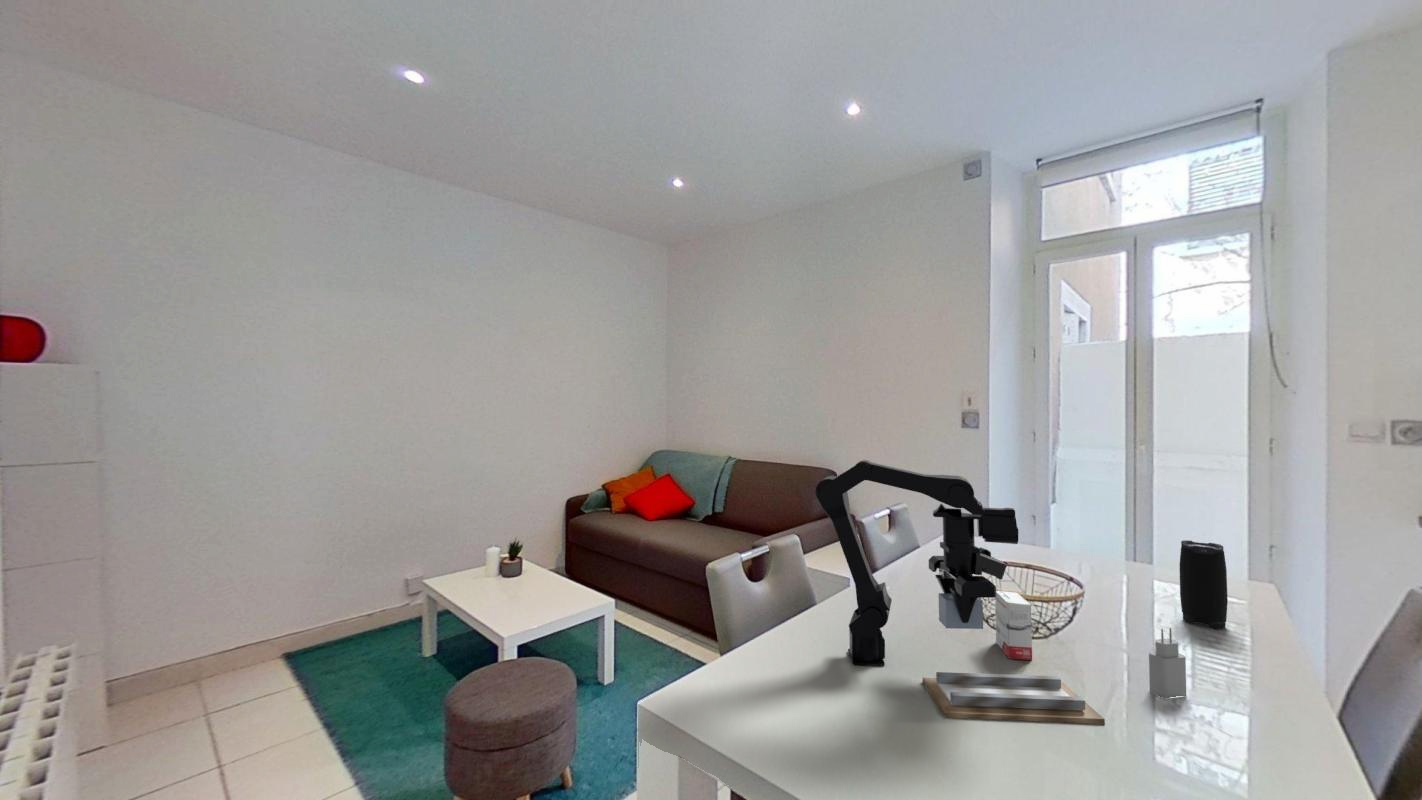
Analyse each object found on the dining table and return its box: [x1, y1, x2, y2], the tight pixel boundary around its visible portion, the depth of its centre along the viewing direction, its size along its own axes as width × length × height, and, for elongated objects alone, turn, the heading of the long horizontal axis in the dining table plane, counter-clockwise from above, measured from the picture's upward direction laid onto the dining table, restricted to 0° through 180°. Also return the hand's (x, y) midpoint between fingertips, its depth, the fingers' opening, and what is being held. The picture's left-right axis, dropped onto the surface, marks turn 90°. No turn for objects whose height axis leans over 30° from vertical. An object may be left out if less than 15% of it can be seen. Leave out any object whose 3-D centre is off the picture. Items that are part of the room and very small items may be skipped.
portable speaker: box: [1179, 539, 1229, 630], centre depth 130 cm, size 9×9×20 cm
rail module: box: [938, 592, 984, 630], centre depth 106 cm, size 7×4×6 cm, turn 86°
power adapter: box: [1148, 627, 1187, 699], centre depth 98 cm, size 3×5×12 cm, turn 101°
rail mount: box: [922, 671, 1106, 725], centre depth 96 cm, size 26×12×3 cm, turn 85°
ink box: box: [994, 590, 1033, 661], centre depth 116 cm, size 9×5×12 cm, turn 168°
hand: (960, 618), depth 106 cm, fingers closed on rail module, 4 cm apart
